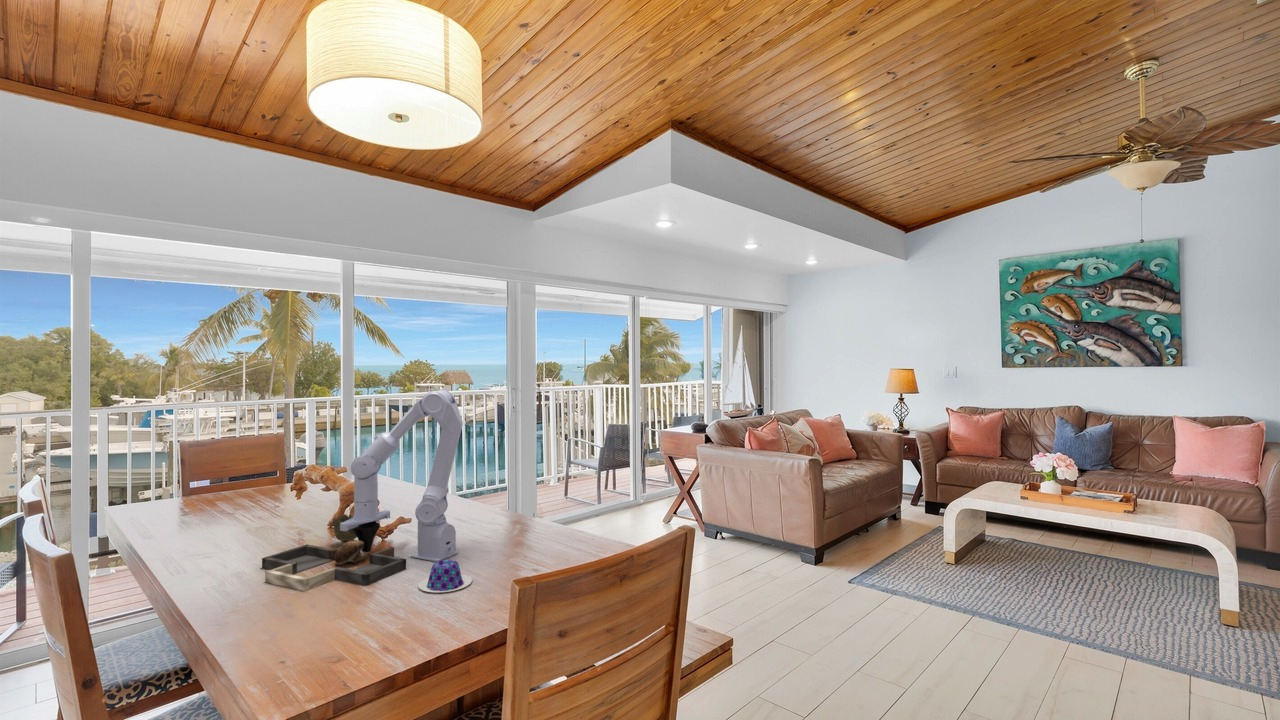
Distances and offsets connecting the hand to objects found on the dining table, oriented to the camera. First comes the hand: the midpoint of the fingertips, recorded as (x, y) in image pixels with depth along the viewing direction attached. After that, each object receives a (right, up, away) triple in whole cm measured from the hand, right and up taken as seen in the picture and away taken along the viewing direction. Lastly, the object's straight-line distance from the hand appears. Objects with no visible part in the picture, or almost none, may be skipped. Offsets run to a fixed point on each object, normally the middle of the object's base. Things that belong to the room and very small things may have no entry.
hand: (366, 551), depth 162 cm
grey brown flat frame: (-4, -1, -9) cm, 10 cm away
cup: (-10, -2, +10) cm, 14 cm away
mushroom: (-2, -2, -5) cm, 5 cm away
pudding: (+27, -2, -20) cm, 34 cm away
